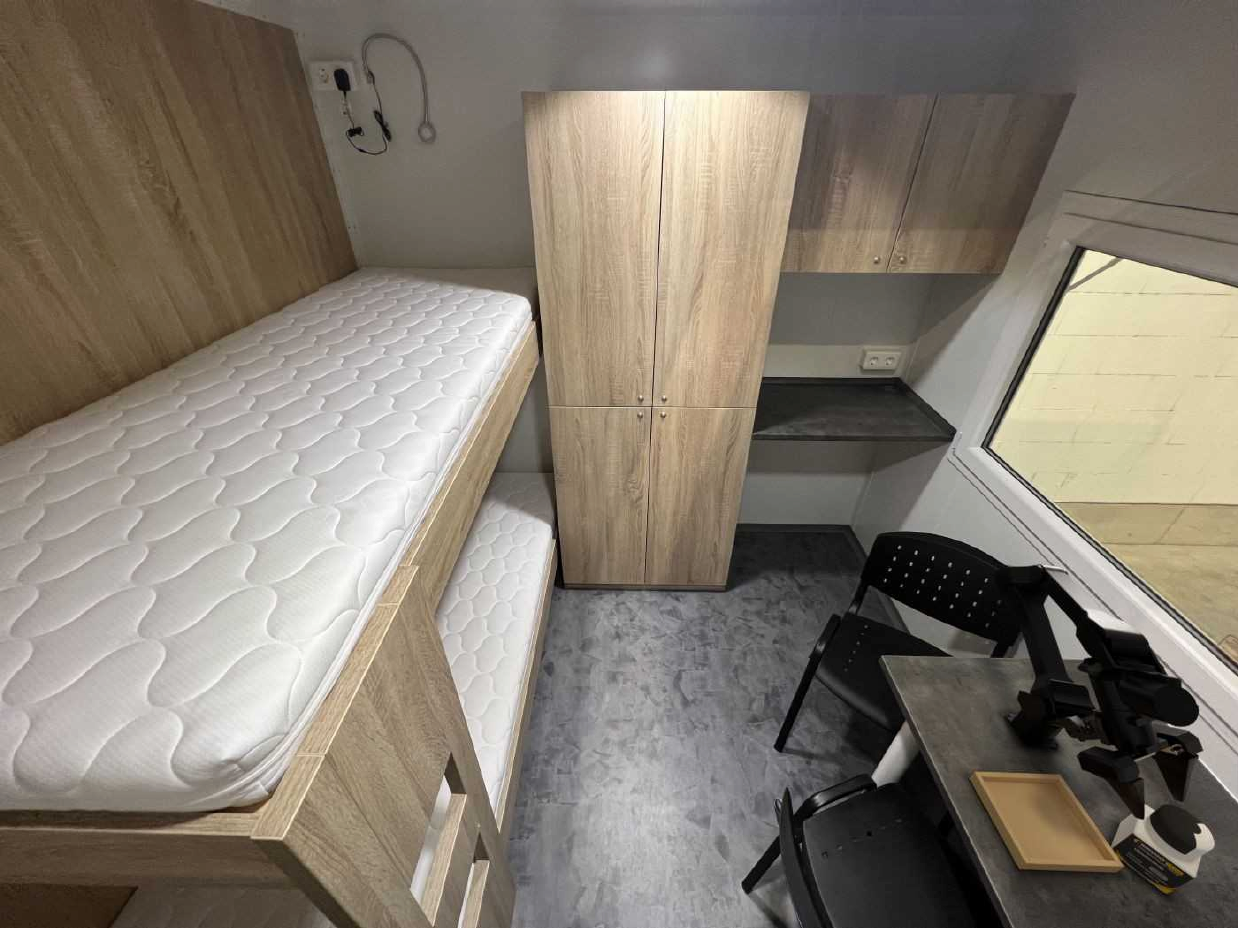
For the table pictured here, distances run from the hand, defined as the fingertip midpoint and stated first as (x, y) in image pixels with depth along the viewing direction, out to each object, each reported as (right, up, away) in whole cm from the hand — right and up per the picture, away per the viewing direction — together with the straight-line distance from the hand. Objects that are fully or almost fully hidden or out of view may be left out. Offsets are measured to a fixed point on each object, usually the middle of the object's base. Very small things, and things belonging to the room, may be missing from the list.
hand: (1159, 809), depth 76 cm
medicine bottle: (+1, -10, +3) cm, 11 cm away
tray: (-13, -7, +7) cm, 17 cm away
